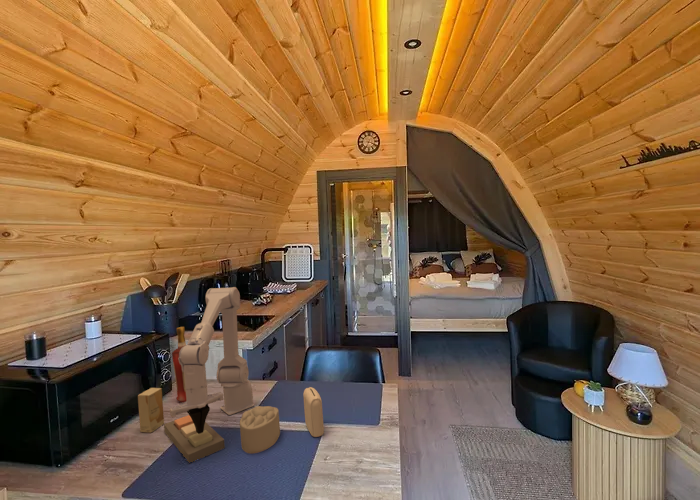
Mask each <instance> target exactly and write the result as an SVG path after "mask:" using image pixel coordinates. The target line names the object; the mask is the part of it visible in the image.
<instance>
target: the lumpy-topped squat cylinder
mask: <svg viewBox="0 0 700 500" xmlns="http://www.w3.org/2000/svg"><path fill="white" fill-rule="evenodd" d="M280 427H281V425H280V413H279V409H278V407H275V406H271V405H267V406H265V405H264V406H259V405H256V406H254V407H253V408H252V407H251V409H250V408H249V409H247V410H246V411H244V412H243V413H242V415H241V418H240V419H239V429H240V431H239V433H240V445H241V449H242V451H243V452H245V453H246V454H252V455H253V454H258V453H261V452H264V451H266V450H268V449H269V448H271V447H273V445H275V444H276V442H277V441H278V439H279V437H280V435H281V428H280Z"/></svg>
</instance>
